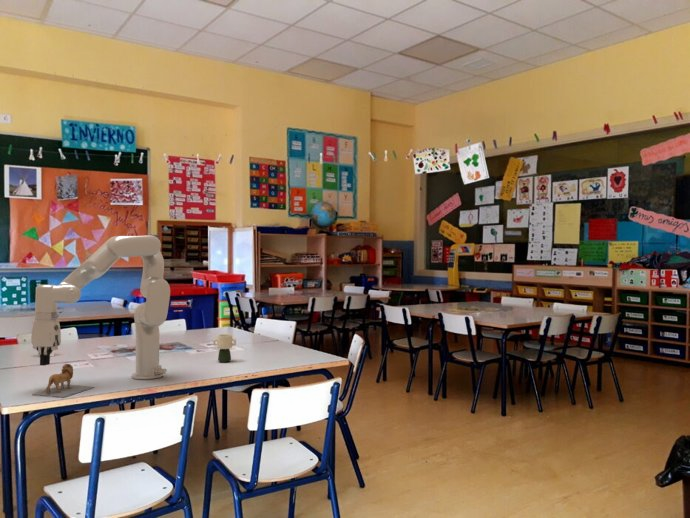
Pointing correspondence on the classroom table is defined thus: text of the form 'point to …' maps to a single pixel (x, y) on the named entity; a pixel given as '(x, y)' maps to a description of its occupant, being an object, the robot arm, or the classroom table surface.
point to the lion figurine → (61, 378)
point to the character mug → (224, 346)
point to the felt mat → (64, 391)
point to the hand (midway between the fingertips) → (44, 364)
